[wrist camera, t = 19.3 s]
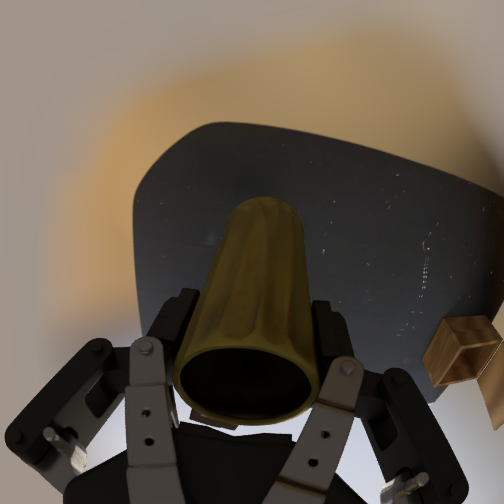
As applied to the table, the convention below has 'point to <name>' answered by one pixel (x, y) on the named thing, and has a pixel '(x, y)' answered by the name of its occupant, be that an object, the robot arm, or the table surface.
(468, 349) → the chest
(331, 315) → the robot arm
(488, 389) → the lid
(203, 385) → the vase
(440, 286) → the table surface
